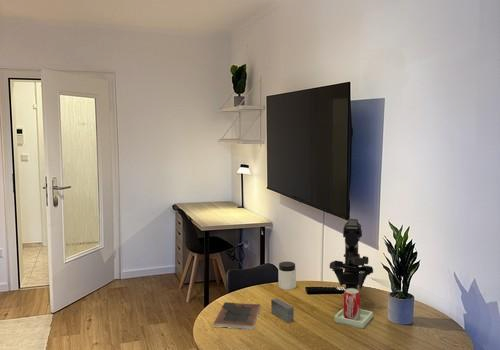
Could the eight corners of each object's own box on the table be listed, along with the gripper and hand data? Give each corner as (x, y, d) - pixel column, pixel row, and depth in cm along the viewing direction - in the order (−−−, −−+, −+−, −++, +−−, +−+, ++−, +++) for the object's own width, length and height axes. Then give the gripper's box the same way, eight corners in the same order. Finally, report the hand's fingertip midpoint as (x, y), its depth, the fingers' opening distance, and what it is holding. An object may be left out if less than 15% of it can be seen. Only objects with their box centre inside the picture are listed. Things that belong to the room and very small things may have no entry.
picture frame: (224, 307, 210) (213, 328, 189) (224, 302, 210) (213, 323, 189) (260, 309, 207) (252, 331, 186) (260, 303, 207) (252, 325, 186)
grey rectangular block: (277, 311, 203) (277, 298, 203) (294, 320, 193) (293, 307, 193) (271, 312, 202) (271, 299, 201) (287, 322, 192) (287, 309, 191)
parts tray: (345, 311, 202) (345, 306, 201) (372, 317, 195) (372, 312, 195) (334, 322, 192) (334, 316, 191) (362, 328, 185) (362, 323, 185)
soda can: (363, 320, 191) (363, 292, 190) (347, 322, 190) (347, 294, 188) (355, 313, 198) (355, 286, 196) (340, 315, 196) (340, 288, 195)
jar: (287, 291, 226) (287, 267, 224) (275, 287, 232) (275, 264, 230) (299, 286, 232) (299, 263, 231) (287, 282, 238) (286, 260, 236)
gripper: (341, 245, 197) (340, 281, 191) (379, 252, 201) (380, 288, 195) (329, 250, 207) (328, 285, 201) (366, 256, 211) (366, 291, 205)
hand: (351, 287), depth 200 cm, fingers open, 9 cm apart
